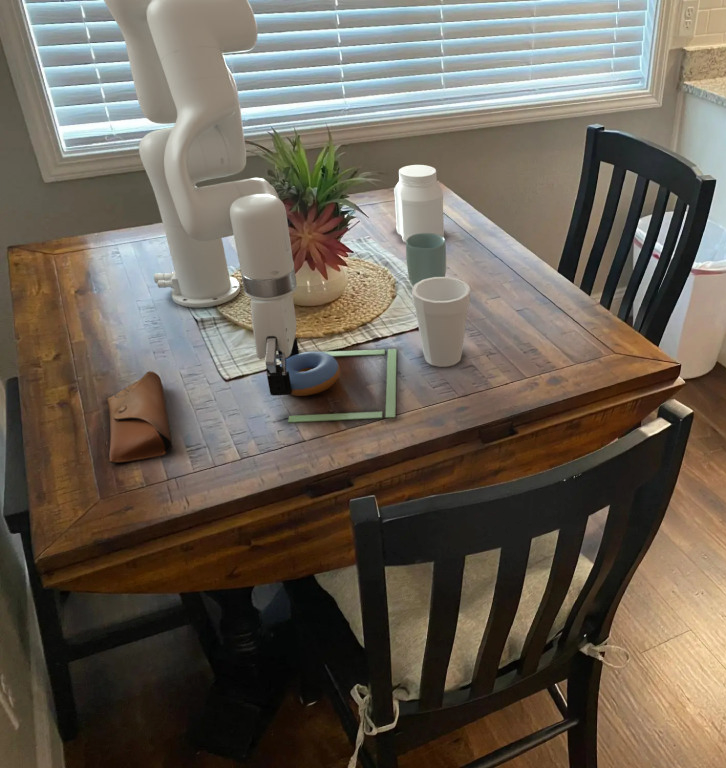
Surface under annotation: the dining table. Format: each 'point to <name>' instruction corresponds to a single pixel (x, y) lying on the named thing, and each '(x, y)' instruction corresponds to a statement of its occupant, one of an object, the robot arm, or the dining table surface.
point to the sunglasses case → (139, 421)
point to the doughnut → (311, 372)
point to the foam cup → (441, 318)
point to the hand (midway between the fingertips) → (285, 376)
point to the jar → (418, 202)
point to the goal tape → (364, 415)
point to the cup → (425, 256)
